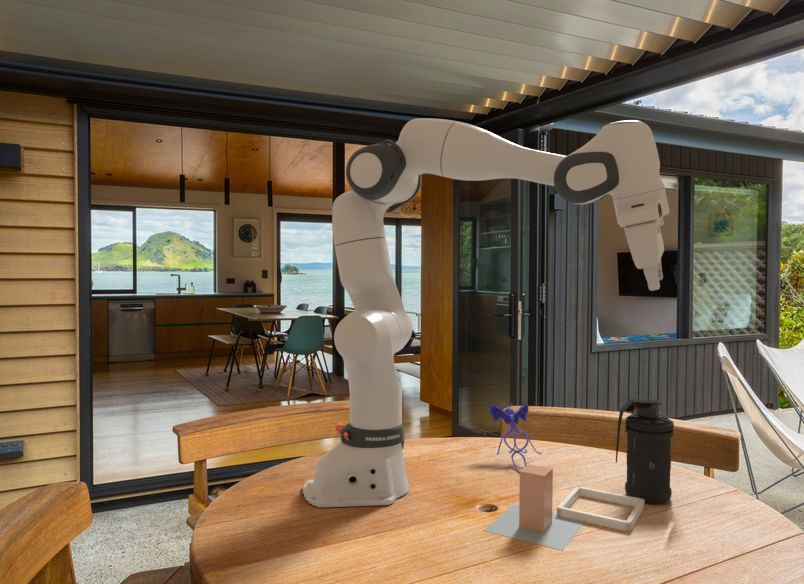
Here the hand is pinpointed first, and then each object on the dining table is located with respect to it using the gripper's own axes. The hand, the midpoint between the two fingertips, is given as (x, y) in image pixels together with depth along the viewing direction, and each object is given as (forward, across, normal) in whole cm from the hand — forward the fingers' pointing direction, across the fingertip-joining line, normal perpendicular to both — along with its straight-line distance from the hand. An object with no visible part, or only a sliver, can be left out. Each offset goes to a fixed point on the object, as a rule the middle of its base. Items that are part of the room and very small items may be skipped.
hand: (656, 284), depth 110 cm
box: (+41, +8, -17) cm, 45 cm away
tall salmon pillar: (+36, +19, -26) cm, 48 cm away
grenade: (+45, -7, -11) cm, 47 cm away
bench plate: (+38, +20, -26) cm, 50 cm away
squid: (+41, -21, -43) cm, 63 cm away
